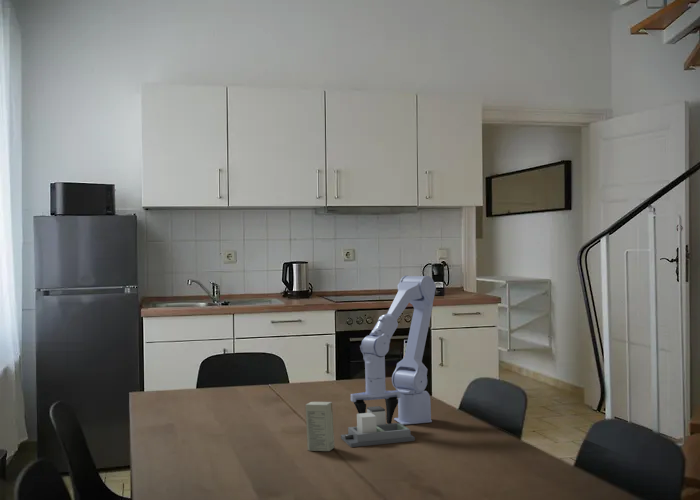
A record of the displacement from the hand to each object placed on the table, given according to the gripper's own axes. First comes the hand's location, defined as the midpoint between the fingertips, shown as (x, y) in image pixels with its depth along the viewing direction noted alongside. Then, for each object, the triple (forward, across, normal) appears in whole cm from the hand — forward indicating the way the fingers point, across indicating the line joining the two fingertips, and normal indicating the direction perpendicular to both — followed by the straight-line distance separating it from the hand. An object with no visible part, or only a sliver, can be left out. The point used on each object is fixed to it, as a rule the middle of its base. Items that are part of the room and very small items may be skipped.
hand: (376, 424), depth 218 cm
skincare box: (+2, +20, +14) cm, 24 cm away
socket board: (+2, +3, +10) cm, 11 cm away
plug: (+2, 0, 0) cm, 2 cm away
